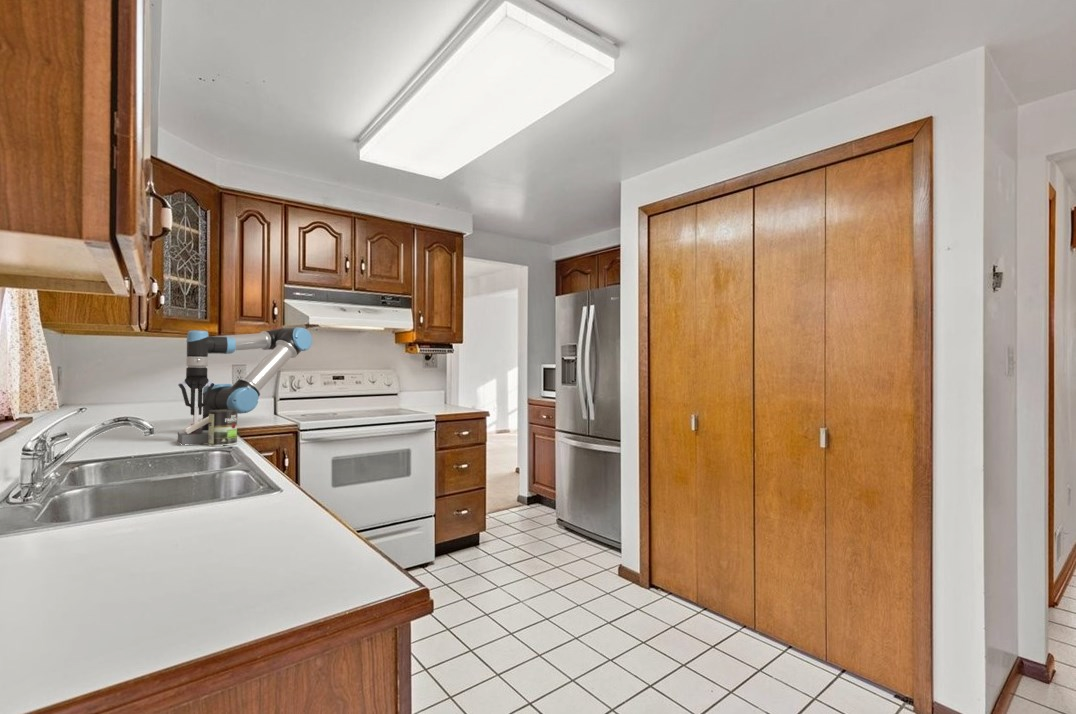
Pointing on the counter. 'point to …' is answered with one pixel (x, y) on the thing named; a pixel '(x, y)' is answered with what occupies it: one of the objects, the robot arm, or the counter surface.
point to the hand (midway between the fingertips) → (195, 422)
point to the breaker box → (193, 437)
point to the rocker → (197, 425)
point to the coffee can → (222, 427)
